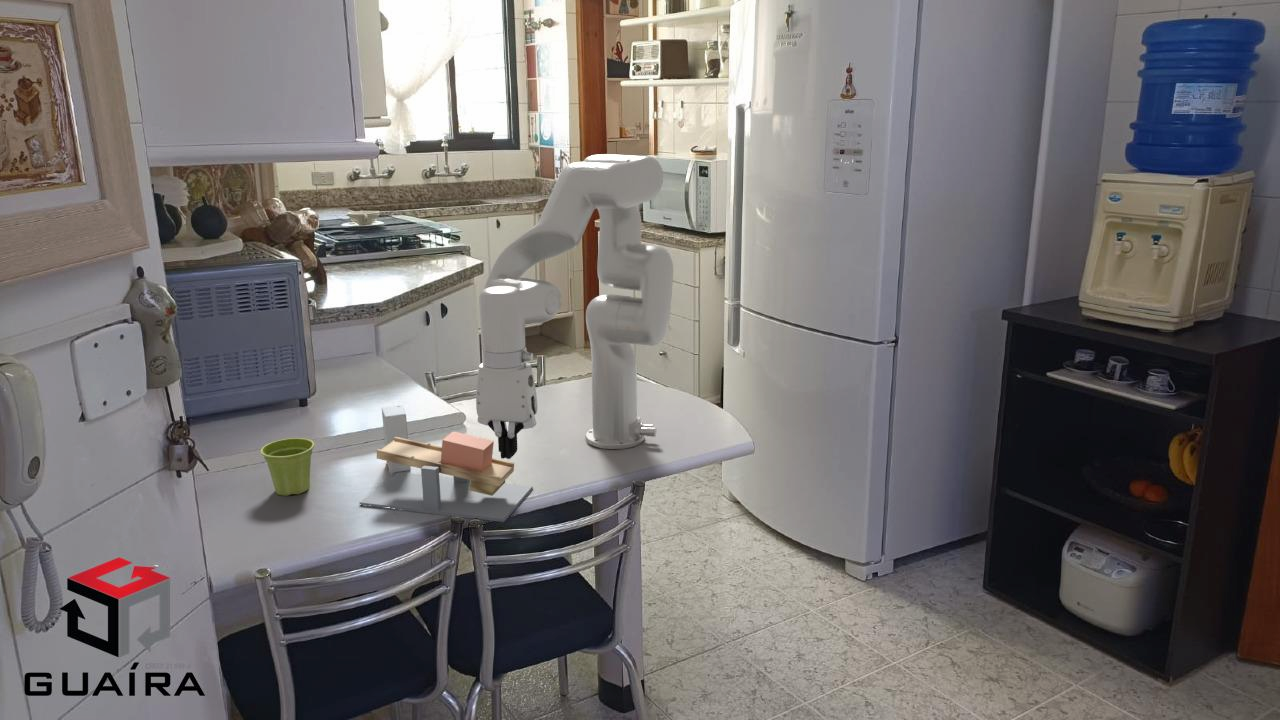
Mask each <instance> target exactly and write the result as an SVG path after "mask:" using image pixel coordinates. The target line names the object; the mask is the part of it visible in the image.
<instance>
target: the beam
mask: <svg viewBox="0 0 1280 720" xmlns="http://www.w3.org/2000/svg"><path fill="white" fill-rule="evenodd" d="M441 452H442V446H441V445H440V446H439V445H436V444H435V445H434V444H431V443H426V442H423V441H417V440H414V439H413V440H411V439H409V438H408V439H404V438H399V437H395V438H394V441H392V442H391V443H389V444H388V445H387V446H385V445H384V447H382V448H381V449H380V448H377V449H376V459H377V460H382V461H389V462H394V463H398V464H403V465H407V466H411V467H412V468H417V469H420V470H421V468H422V467H423V466H432V467H439V474H443V475H448V476H450V477H451V476H452V477H454V476H456V477H460V478H465V479H469V480H470V491H474V492H478V493H482V494H487V495H491V496H493V495H494V494H495V493H496V492H497V491H498V490H499V488H500V487H501V486H502V485H503V484H504V483H506V479H508V478H509V477H510V476H511V475H512V474H513V473H514V472H515V462H513V461H508V460H504V459H499V458H494V457H492V463H491V464H490V465H489V466H488V467H487V468H486V469H485V470H484V471H483V472H478V471H474V470H469V469H465V468H461V467H456V466H452V465H448V464H444V463H441Z"/></svg>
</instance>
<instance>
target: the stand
mask: <svg viewBox="0 0 1280 720" xmlns="http://www.w3.org/2000/svg"><path fill="white" fill-rule="evenodd" d="M420 473H421V474H419V473H410V472H404V471H402V472H395V474H394V475H392V476H391V477H390V478H389V479H387V480H386V481H384V482H383V483H382V484H381V485H380V486H378V487H377V488H376V489H374V490H373V491H372V492H371V493H369V494H368V495H367V496H366V497H364V498H363V499H361V501H359V505H360V504H361V505H371V506H379V507H390V508H395V509H402V510H401V511H404V510H409V511H408V512H413V511H415V512H416V513H421V512H423V514H430V513H431V514H432V515H440V516H441V515H442V516H447V517H449V516H451V517H456V516H461V517H460V518H467V519H472V520H473V519H474V520H475V518H478V519H477V520H484V521H492V522H498V523H499V522H501V523H504V522H505V521H506V520H507V519H508V518H509V517H510V515H512V513H513V512H514V511H515V510H516V509H517V507H519V505H520V504H521V503H522V502H523V501H524V500H525V498H526V497H527V496H528V495H529V494H530V493H531V492H532V490H533V489H534V488H533V485H525V484H517V483H516V484H515V483H506V482H505V483H504V484H503V485H502V486H501V487H500V488H499V490H498V491H497V492H496V493H495V494H494V495H493V496H491V495H487V494H482V493H478V492H474V491H470V480H469V479H465V478H460V477H456V476H453V477H451V476H450V477H448V476H440V473H439V467H432V466H423V467H422V468H421V469H420ZM361 505H360V506H361ZM395 509H394V510H395ZM415 512H414V513H415Z"/></svg>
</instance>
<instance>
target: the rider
mask: <svg viewBox="0 0 1280 720" xmlns="http://www.w3.org/2000/svg"><path fill="white" fill-rule="evenodd" d="M494 441H495V440H491V439H487V438H482V437H478V436H474V435H471V434H466V433H462V432H459V431H452V432H450V433H449V434H448V435H446V436H445V437H444V438H443V439H442V442H441V447H442V452H441V463H444V464H448V465H452V466H456V467H461V468H465V469H469V470H474V471H478V472H483V471H484V470H485V469H486V468H487V467H488V466H489V465H490V464H491V463H492V458H493V451H494V444H495V443H494Z"/></svg>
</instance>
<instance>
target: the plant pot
mask: <svg viewBox="0 0 1280 720" xmlns="http://www.w3.org/2000/svg"><path fill="white" fill-rule="evenodd" d="M314 447H315V442H314V441H313V440H312V439H308V438H301V437H291V438H284V439H283V438H282V439H279V440H275V441H272V442H269V443H267V444H265V445H264V446H263V447H261V449H260V454H261V455H262V456H263V458H264V460H265V461H266V463H267V467H268V470H269V473H270V477H271V480H272V483H273V487H274V492H275V493H276V494H277V495H279V496H284V497H285V496H290V495H300V494H302V493H304V492H306V491H308V490H309V489H310V486H311V462H312V461H311V460H312V459H311V458H312V455H313V449H314Z"/></svg>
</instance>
